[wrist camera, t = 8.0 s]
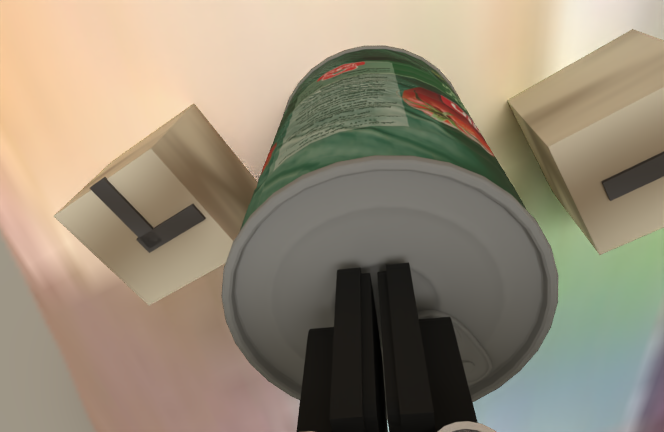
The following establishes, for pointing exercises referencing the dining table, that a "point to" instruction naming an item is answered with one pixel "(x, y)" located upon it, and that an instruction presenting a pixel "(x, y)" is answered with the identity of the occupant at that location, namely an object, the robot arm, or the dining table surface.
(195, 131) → the marked block two
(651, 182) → the marked block one
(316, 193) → the canned tomato
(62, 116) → the dining table surface
